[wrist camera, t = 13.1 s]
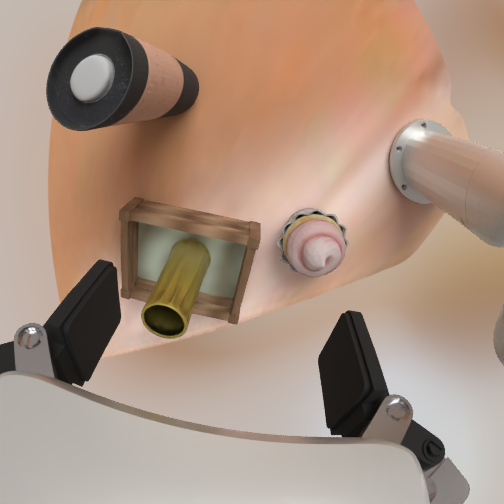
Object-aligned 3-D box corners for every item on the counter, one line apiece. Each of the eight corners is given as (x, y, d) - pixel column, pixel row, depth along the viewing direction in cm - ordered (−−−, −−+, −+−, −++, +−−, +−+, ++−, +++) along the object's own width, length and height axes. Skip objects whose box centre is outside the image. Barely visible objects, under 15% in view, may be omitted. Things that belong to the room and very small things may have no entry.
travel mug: (155, 126, 33) (61, 152, 15) (138, 77, 29) (36, 65, 12) (209, 104, 31) (151, 99, 14) (191, 53, 28) (120, 5, 10)
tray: (260, 223, 39) (260, 239, 34) (239, 302, 46) (237, 324, 41) (135, 197, 37) (119, 210, 33) (132, 278, 44) (121, 297, 40)
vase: (164, 259, 41) (129, 322, 29) (183, 229, 39) (150, 289, 26) (197, 280, 43) (175, 349, 30) (219, 253, 40) (201, 320, 28)
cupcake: (315, 267, 42) (327, 310, 33) (263, 238, 40) (263, 278, 31) (352, 219, 38) (377, 253, 29) (299, 184, 36) (312, 210, 27)
